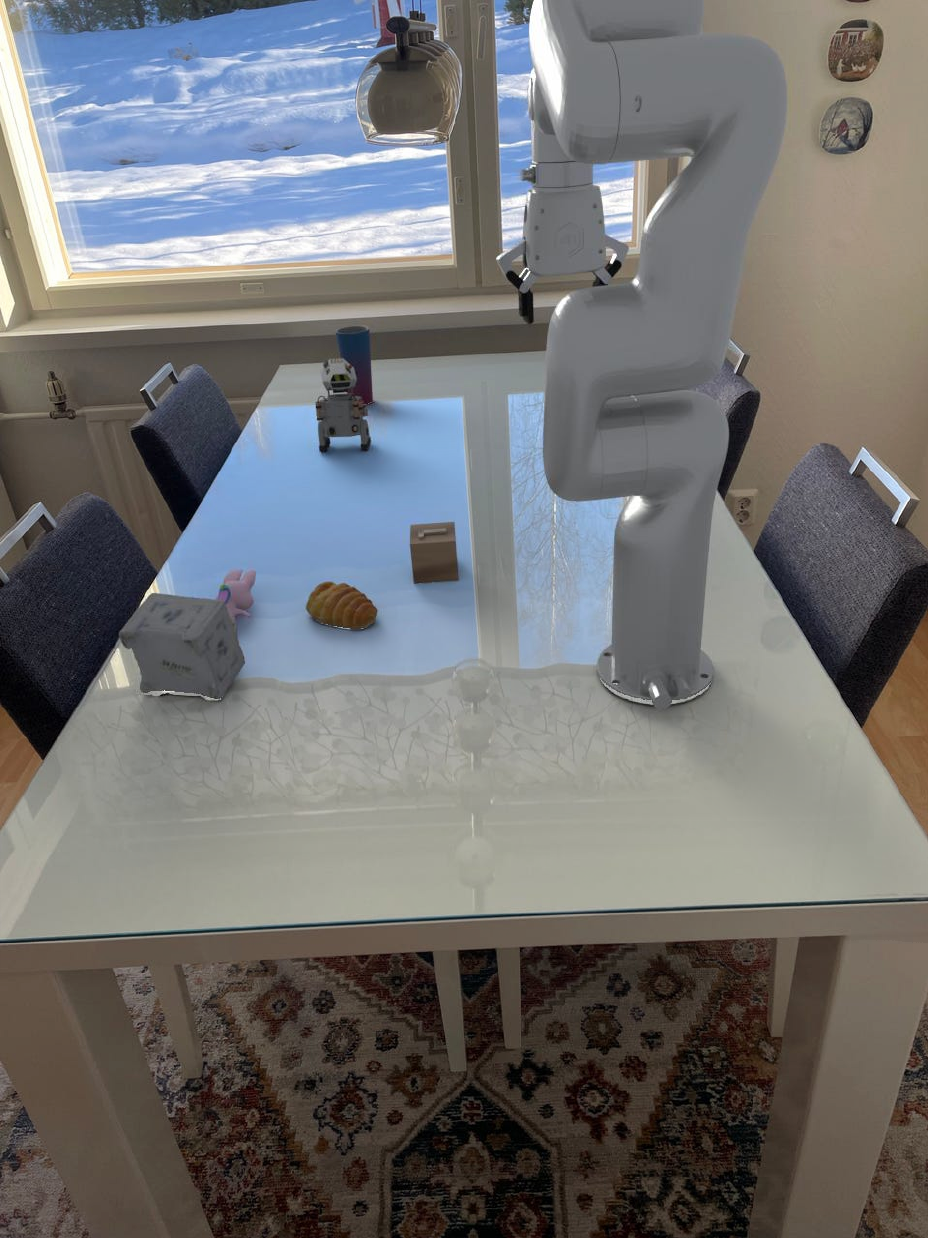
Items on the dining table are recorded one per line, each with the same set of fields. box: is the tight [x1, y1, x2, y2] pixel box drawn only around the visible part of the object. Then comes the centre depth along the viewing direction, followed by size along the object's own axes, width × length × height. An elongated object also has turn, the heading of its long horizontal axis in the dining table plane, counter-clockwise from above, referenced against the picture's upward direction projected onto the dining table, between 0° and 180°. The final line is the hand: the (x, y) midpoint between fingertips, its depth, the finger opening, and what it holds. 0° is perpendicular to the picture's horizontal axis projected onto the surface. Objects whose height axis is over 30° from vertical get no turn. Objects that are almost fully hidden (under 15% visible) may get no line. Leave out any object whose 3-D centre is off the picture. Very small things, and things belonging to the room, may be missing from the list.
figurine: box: [315, 357, 372, 453], centre depth 170 cm, size 9×12×15 cm
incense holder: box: [118, 592, 246, 699], centre depth 105 cm, size 10×8×10 cm
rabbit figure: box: [214, 568, 257, 634], centre depth 119 cm, size 6×6×15 cm
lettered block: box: [409, 521, 459, 585], centre depth 126 cm, size 6×6×6 cm
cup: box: [335, 324, 374, 404], centre depth 191 cm, size 7×7×15 cm
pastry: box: [305, 581, 378, 630], centre depth 118 cm, size 9×7×4 cm
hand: (563, 317), depth 124 cm, fingers open, 9 cm apart
